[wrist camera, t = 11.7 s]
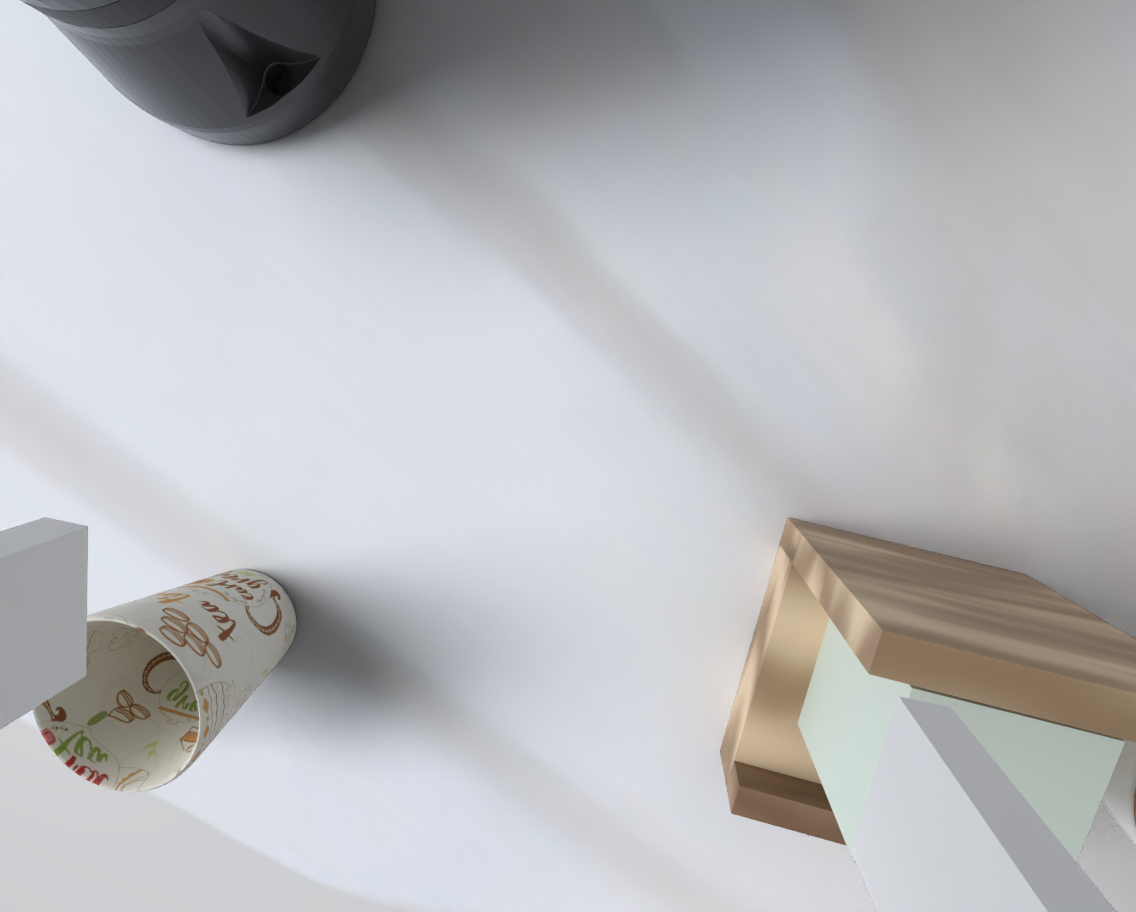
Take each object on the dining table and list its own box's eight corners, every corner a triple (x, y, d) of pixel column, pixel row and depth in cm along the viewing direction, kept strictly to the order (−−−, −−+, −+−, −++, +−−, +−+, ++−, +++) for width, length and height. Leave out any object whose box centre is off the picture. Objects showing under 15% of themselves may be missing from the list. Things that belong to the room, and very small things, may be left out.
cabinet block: (837, 593, 31) (912, 688, 22) (987, 629, 31) (1125, 741, 22) (790, 744, 33) (844, 890, 24) (933, 782, 32) (1042, 945, 23)
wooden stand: (787, 517, 34) (882, 630, 20) (1025, 574, 33) (1296, 733, 19) (720, 751, 36) (764, 993, 23) (939, 810, 35) (1124, 1101, 22)
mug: (344, 631, 38) (239, 728, 28) (202, 745, 40) (59, 871, 31) (251, 521, 38) (111, 580, 28) (112, 643, 40) (-61, 737, 30)
